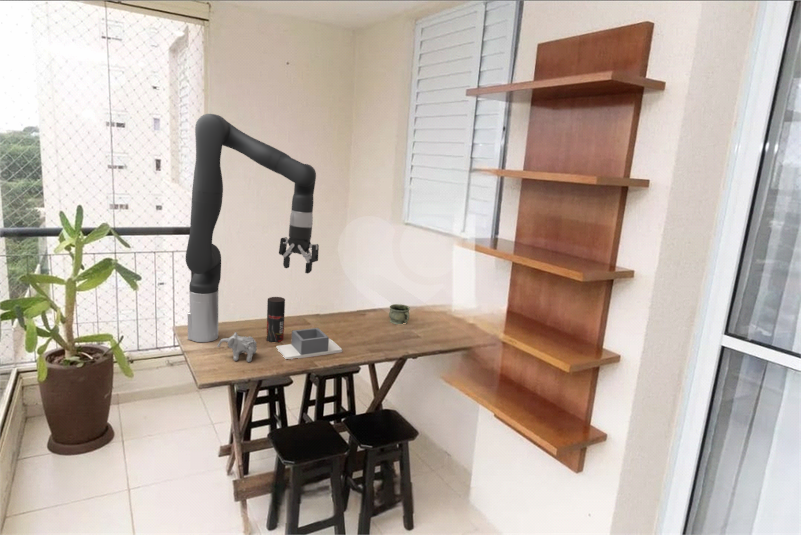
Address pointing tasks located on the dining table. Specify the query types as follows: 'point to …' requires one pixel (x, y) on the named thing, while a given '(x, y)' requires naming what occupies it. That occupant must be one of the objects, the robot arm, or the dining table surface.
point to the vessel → (399, 313)
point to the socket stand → (308, 344)
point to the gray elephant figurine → (241, 346)
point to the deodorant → (275, 319)
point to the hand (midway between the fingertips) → (297, 270)
